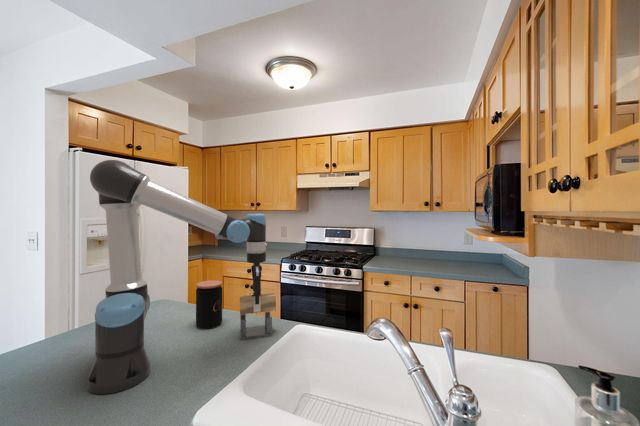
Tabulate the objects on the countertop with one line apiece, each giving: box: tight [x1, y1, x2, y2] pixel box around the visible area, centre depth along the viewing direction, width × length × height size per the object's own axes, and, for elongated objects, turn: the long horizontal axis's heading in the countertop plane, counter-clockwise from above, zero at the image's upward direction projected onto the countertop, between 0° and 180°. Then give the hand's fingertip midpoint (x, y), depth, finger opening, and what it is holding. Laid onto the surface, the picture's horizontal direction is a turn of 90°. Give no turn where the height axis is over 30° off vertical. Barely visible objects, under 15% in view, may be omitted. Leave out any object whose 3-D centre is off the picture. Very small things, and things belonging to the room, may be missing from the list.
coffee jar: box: [195, 279, 223, 330], centre depth 122 cm, size 11×11×18 cm
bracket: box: [239, 311, 273, 341], centre depth 114 cm, size 9×12×7 cm
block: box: [239, 292, 277, 316], centre depth 114 cm, size 4×14×6 cm, turn 105°
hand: (256, 309), depth 114 cm, fingers closed on block, 4 cm apart
